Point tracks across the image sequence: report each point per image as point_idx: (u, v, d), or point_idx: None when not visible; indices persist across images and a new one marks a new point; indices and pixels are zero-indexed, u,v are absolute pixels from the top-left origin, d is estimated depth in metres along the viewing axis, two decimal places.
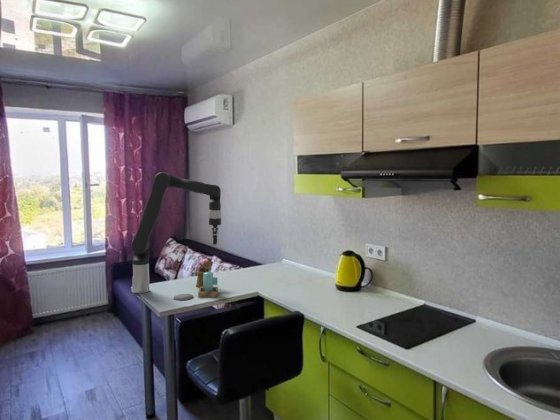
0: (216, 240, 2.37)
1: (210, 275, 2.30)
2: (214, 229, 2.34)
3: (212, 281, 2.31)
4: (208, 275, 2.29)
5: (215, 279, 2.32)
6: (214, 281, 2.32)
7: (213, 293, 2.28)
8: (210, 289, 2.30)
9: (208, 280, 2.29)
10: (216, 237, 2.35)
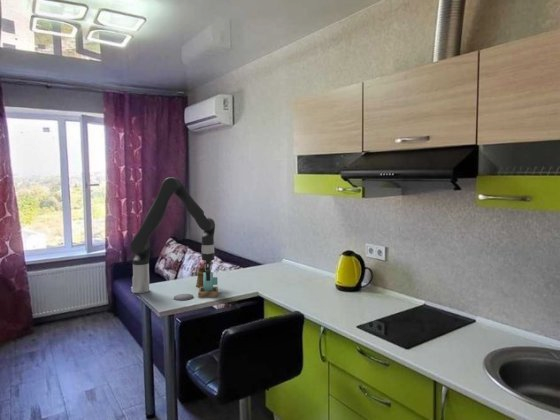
0: (209, 276, 2.27)
1: (210, 275, 2.30)
2: (207, 265, 2.25)
3: (212, 281, 2.31)
4: None
5: (215, 279, 2.32)
6: (214, 281, 2.32)
7: (213, 293, 2.28)
8: (210, 289, 2.30)
9: None
10: (209, 273, 2.25)
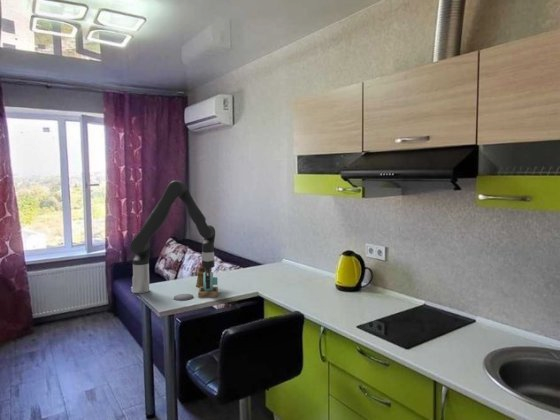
0: (209, 284, 2.29)
1: None
2: (207, 274, 2.25)
3: (212, 281, 2.31)
4: None
5: (215, 279, 2.32)
6: (214, 281, 2.32)
7: (213, 293, 2.28)
8: (210, 289, 2.30)
9: None
10: (209, 281, 2.26)
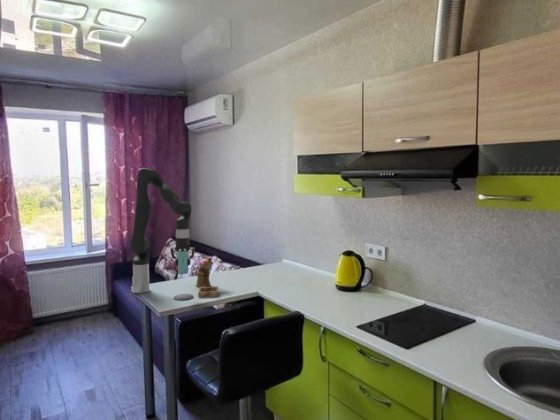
0: (176, 261, 2.23)
1: (178, 253, 2.22)
2: (170, 249, 2.23)
3: (180, 260, 2.22)
4: None
5: (180, 259, 2.20)
6: (181, 261, 2.21)
7: (213, 293, 2.28)
8: (178, 267, 2.23)
9: None
10: None
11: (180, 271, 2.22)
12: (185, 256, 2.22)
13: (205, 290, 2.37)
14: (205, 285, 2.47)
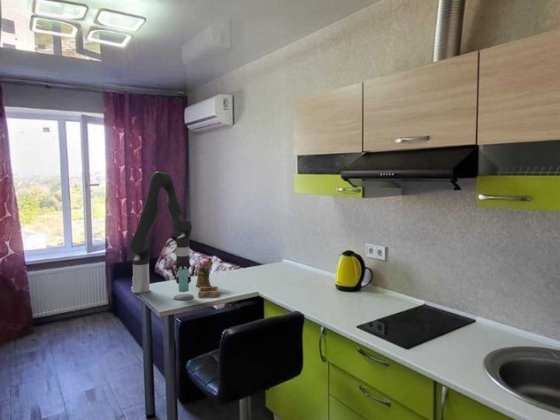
0: (177, 279, 2.24)
1: None
2: (171, 267, 2.24)
3: (180, 278, 2.22)
4: None
5: None
6: None
7: (213, 293, 2.28)
8: (179, 285, 2.24)
9: (178, 275, 2.25)
10: None
11: (181, 289, 2.23)
12: (186, 274, 2.23)
13: (205, 290, 2.37)
14: (205, 285, 2.47)
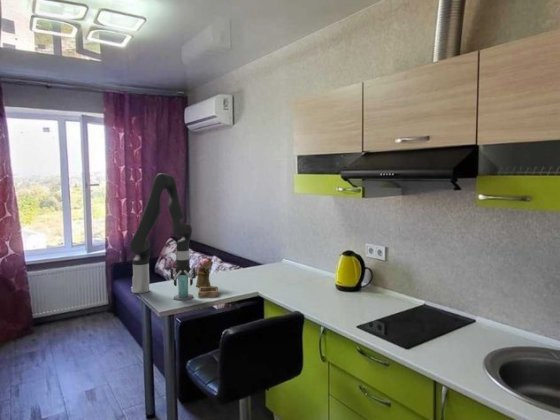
0: (175, 282, 2.24)
1: (178, 276, 2.23)
2: (171, 269, 2.24)
3: (180, 284, 2.23)
4: (178, 276, 2.24)
5: (181, 283, 2.21)
6: None
7: (213, 293, 2.28)
8: (178, 291, 2.24)
9: (178, 280, 2.25)
10: (170, 278, 2.23)
11: (180, 295, 2.23)
12: (185, 280, 2.23)
13: (205, 290, 2.37)
14: (205, 285, 2.47)
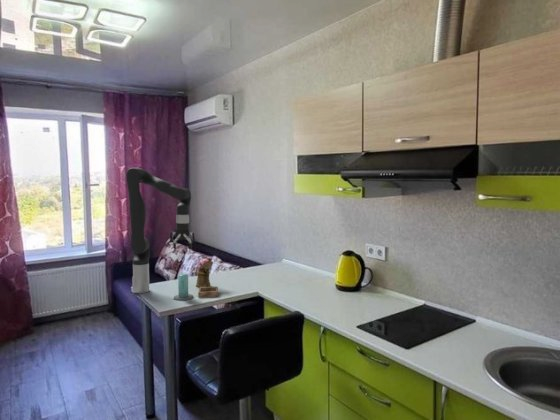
0: (174, 245, 2.28)
1: (178, 277, 2.23)
2: (170, 233, 2.28)
3: (180, 284, 2.23)
4: (178, 276, 2.24)
5: (181, 283, 2.21)
6: None
7: (213, 293, 2.28)
8: (178, 291, 2.24)
9: (178, 280, 2.25)
10: (170, 241, 2.28)
11: (180, 295, 2.23)
12: (185, 280, 2.23)
13: (205, 290, 2.37)
14: (205, 285, 2.47)
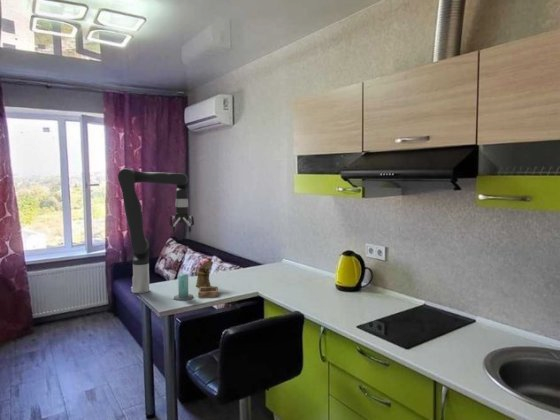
0: (174, 228, 2.37)
1: (178, 276, 2.23)
2: None
3: (180, 284, 2.23)
4: (178, 276, 2.24)
5: (181, 283, 2.21)
6: None
7: (213, 293, 2.28)
8: (178, 291, 2.24)
9: (178, 280, 2.25)
10: None
11: (180, 295, 2.23)
12: (185, 280, 2.23)
13: (205, 290, 2.37)
14: (205, 285, 2.47)
